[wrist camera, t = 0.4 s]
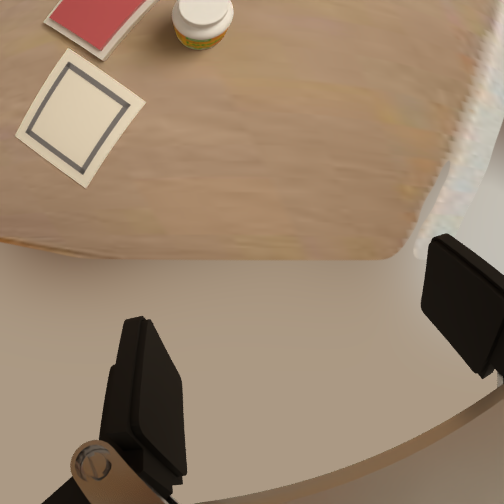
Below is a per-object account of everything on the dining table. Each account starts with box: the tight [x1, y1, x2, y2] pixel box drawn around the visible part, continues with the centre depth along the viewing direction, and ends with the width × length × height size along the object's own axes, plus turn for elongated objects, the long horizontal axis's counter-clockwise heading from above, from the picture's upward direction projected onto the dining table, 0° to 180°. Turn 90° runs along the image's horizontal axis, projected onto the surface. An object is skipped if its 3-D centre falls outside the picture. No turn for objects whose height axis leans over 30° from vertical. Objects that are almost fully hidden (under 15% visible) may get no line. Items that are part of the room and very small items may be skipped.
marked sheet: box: [15, 48, 146, 188], centre depth 29 cm, size 12×12×1 cm
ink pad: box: [44, 0, 159, 61], centre depth 22 cm, size 10×10×2 cm
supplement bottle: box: [172, 0, 234, 50], centre depth 23 cm, size 5×5×10 cm
